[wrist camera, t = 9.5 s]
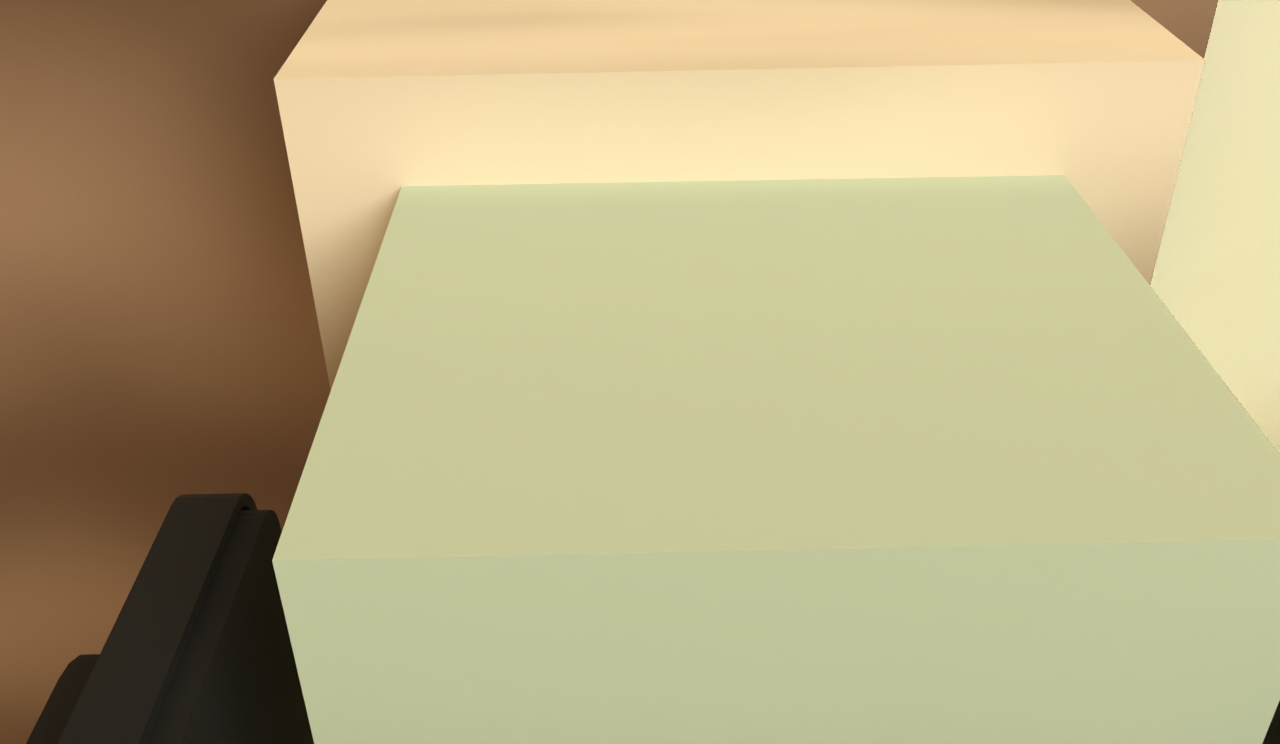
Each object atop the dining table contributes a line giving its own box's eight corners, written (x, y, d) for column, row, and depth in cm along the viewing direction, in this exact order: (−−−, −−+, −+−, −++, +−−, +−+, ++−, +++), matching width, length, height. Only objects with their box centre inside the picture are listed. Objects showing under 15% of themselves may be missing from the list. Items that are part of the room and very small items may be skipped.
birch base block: (967, 495, 18) (1048, 702, 15) (431, 509, 18) (390, 719, 15) (1060, -56, 14) (1206, 59, 10) (356, -42, 14) (273, 78, 10)
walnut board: (985, 852, 24) (998, 896, 24) (-314, 886, 24) (-347, 932, 23) (1238, -263, 14) (1279, -253, 13) (-1118, -221, 13) (-1234, -209, 12)
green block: (971, 648, 14) (1122, 1090, 10) (461, 659, 14) (398, 1109, 10) (1064, 175, 11) (1345, 537, 7) (401, 185, 11) (272, 561, 7)
